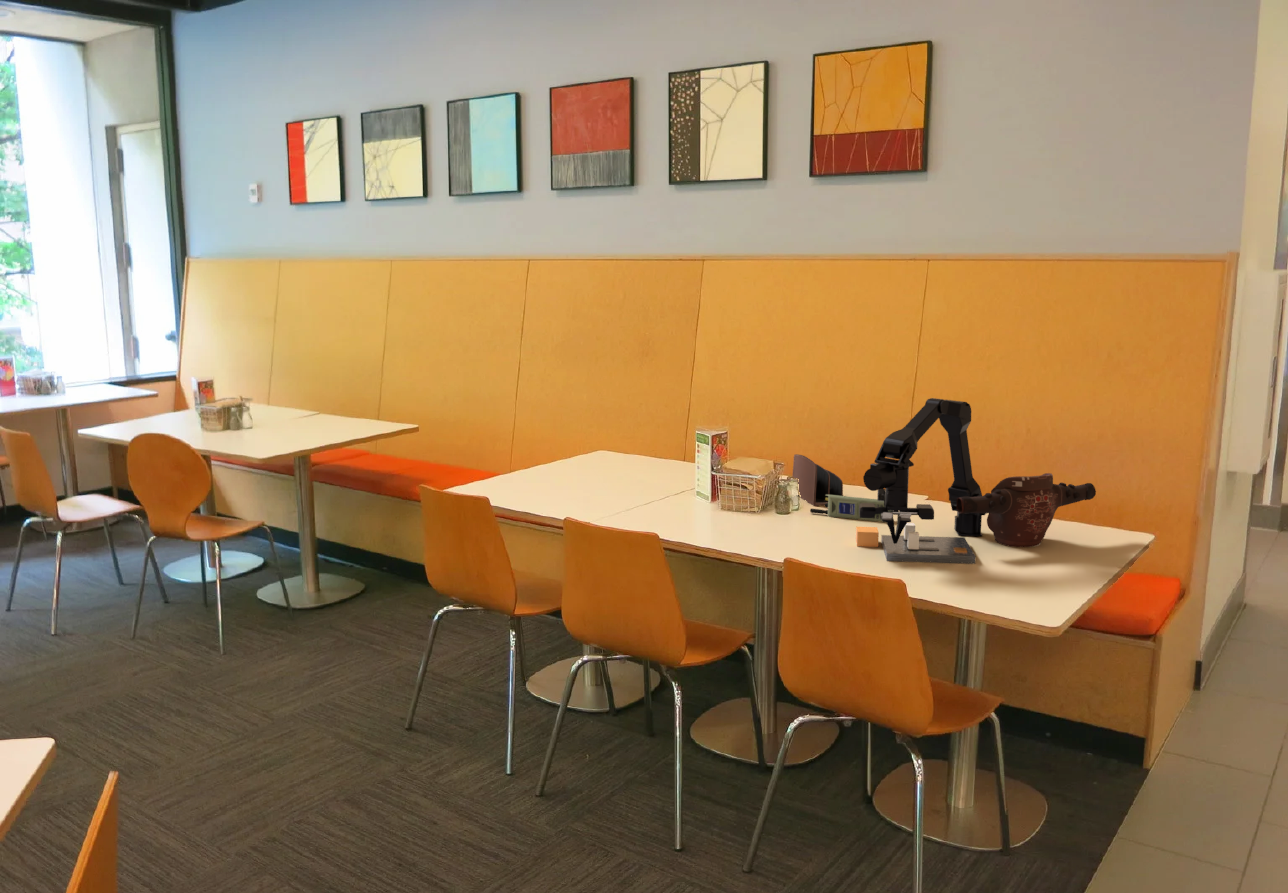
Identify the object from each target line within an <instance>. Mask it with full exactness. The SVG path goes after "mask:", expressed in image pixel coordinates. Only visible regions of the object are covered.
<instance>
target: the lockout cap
mask: <svg viewBox="0 0 1288 893" xmlns="http://www.w3.org/2000/svg"><path fill="white" fill-rule="evenodd" d="M855 543H857V544H856V546H857V547H870V548H872V547H873V548H875V547H876V548H878V547H879V529H878V527H877V526H856V528H855Z"/></svg>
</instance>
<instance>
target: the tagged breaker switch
mask: <svg viewBox="0 0 1288 893" xmlns="http://www.w3.org/2000/svg"><path fill="white" fill-rule="evenodd" d="M919 536H920V533H919V532H918V531H915V532H908V542H907V547H908V549H919Z"/></svg>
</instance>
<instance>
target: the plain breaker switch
mask: <svg viewBox="0 0 1288 893" xmlns="http://www.w3.org/2000/svg"><path fill="white" fill-rule="evenodd" d="M908 532H916V524H915V523H914V522H907V524H906V525H905V527H904V529H903V536H904V539H905V540H908Z"/></svg>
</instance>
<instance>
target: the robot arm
mask: <svg viewBox="0 0 1288 893" xmlns="http://www.w3.org/2000/svg"><path fill="white" fill-rule="evenodd" d="M937 420H939V423H940V425H941V426H942V428H943V429H944V430H945V431H946V433H947V438H948V445H949V451H950V452H949V453H950V458H951V465H952V473H953V482H952V483H951V486H949V487H948V488H947V492H948V501H950V506H951V511H952V512H957V513H956V515H954V528H953V530H954V532H955V533H956V534H957V536H963V537H965V536H966V537H969V536H970V537H971V536H972V537H982V536H983V533H982V518H983V516H986V514H988V513H969V514H962V513H961V514H960V513H958V511H957V507H956V505H957V499H958V498H960V497H964V496H968V497H979V496H983V494H982V489H981V486H980V485H979V483H978V482H977V481H976V480H975V478H974V477H973V476H974V475H973V468H972V462H971V454H970V446H969V438H968V432H967V431H968V428H969V426H970V424H971V422H972V407H971V405H970V403H968V402H967V401H961V400H952V399H943V398H936V397H935V398H934V397H931V398H927V399H926V401H925V404H924V406H922V407H921V408H920V409H919V411H918V412H917V413H916V414H915V415H914V416H913V418H911V419H910V420H909V422H908V423H907V424H906V425H904V427H903V428H901V429H898V430H895V431H893V432H892V433H890V434H889V435H888V436H886V437H885V438H884V440H883V442H882V444H881V446H880V447H879V448H880V449H879V451H878V452H877V455H876V457H875V459H874V462H873V463H870V467H869V468H868V469H867V470H866V471H865V472H864V474H863V475H862V476H863V478H862V479H863V480H862V481H863V484H864V486H865V487H866V488H867V489H868V490H870V491H872V492H875V491H877V498H876V499H877V500H878V501H884V506H885V507H875V504H874V503H861V504H860V505H859V516H860V518H873V517H874V516H875V514H881V519H882V521H883V522H882V523H885V522H886V523H885V524H886V525H887V527H888V529H889V532H890V535H891V536H892V540H893V543H894V544H897V542H898V539H899V537H900V536H902V535H901V534H902V532H903V531H904V527H905V525H906V524H907V523H912V519H911V517H912V516H918V518H920V519H921V520H924V521H925V520H929V521H930V520H931V521H932V520H935V510H934V507H933V506H932V505H931V504H926V503H925V504H922V503H921V504H920V503H917V504H916V507H909V506H908V500H909V476H910V474H909V473H910V472H909V471H910V467H914V465H915V463H914V462H913V461H912V460H911V459H912V457H913V456H914V454H915V453H916V451H917V449H918V442H919V441H920V439H921V438H922V437H923V436H924V435H925V434H926V433H927V432H928V430H930V429H931V427H932V426H933V425H934V424H935V423H936V422H937ZM894 515H895V516H897V520H896V527H895V519H894Z"/></svg>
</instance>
